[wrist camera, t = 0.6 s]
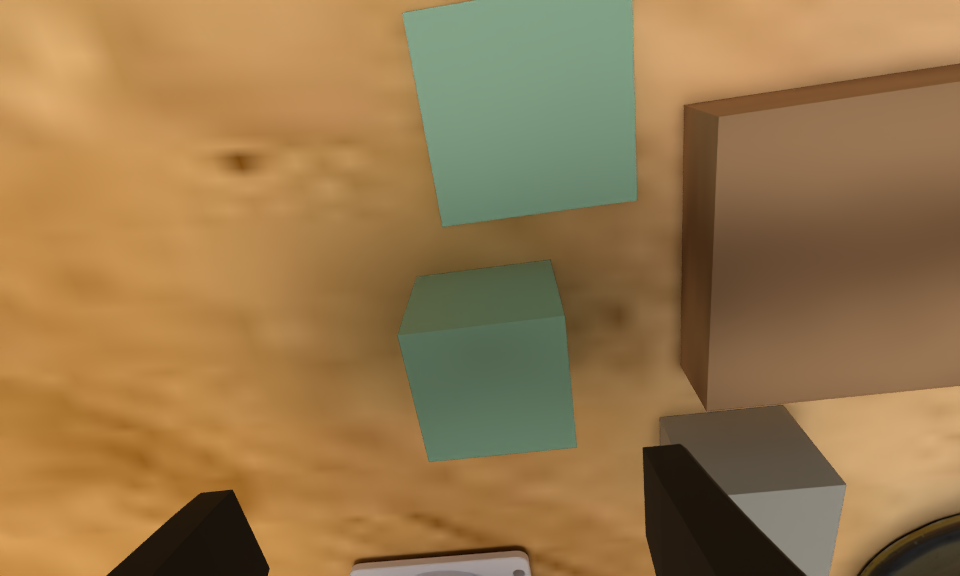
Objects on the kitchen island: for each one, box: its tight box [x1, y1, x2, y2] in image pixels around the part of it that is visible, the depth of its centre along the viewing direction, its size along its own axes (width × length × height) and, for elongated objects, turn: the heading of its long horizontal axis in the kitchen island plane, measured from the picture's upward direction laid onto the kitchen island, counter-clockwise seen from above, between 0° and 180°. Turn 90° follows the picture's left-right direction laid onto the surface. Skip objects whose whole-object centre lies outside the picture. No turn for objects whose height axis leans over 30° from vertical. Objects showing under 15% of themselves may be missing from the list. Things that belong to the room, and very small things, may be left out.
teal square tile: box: [402, 0, 637, 227], centre depth 15 cm, size 6×6×1 cm
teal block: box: [397, 260, 577, 462], centre depth 17 cm, size 4×4×4 cm
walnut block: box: [681, 64, 960, 411], centre depth 16 cm, size 9×9×3 cm
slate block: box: [660, 405, 846, 576], centre depth 19 cm, size 4×4×4 cm
